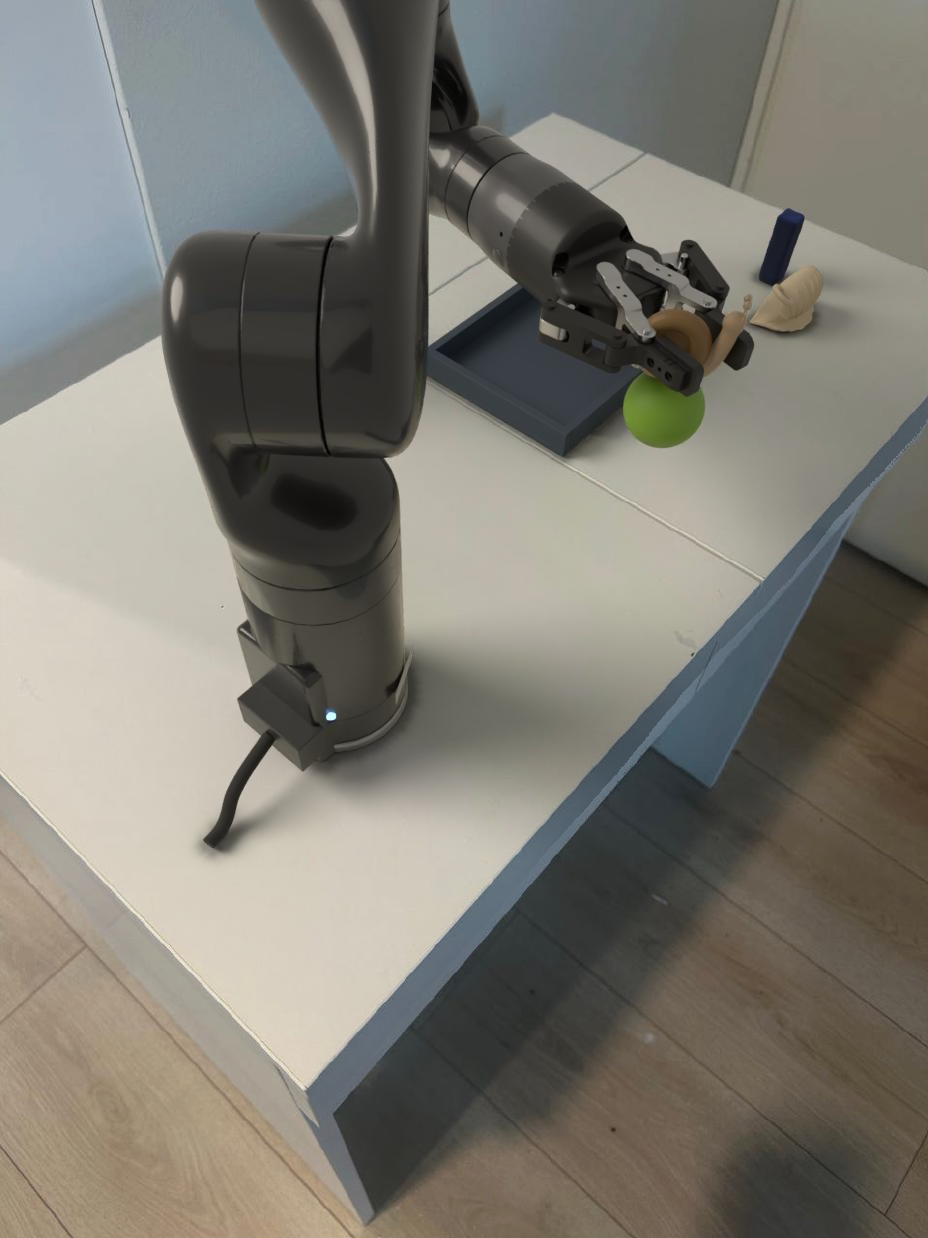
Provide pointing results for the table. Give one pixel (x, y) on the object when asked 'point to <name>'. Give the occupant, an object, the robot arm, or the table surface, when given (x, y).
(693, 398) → the snail figurine
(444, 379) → the tray
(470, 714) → the table surface
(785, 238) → the eraser
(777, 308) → the beige curved piece
